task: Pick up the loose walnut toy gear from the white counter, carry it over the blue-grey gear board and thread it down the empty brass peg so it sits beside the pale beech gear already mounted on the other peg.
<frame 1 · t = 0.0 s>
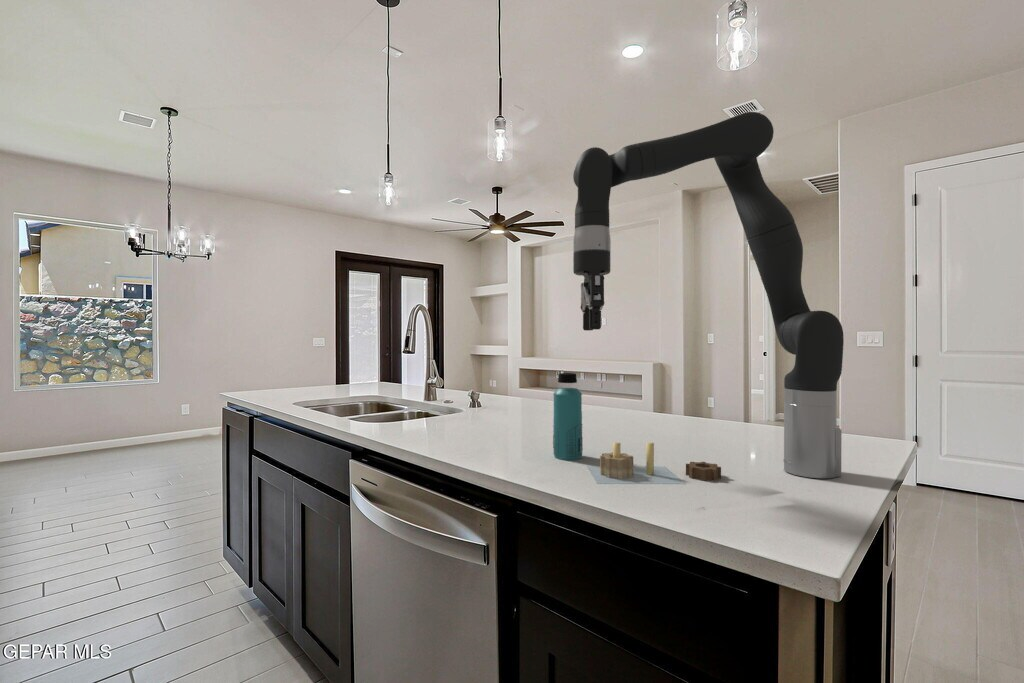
hand: (591, 329, 100), 29 cm above the counter, fingers open, 8 cm apart
beech gear: (616, 465, 93), point 3 cm above the counter, hinge at 0.0°, touching gear board
beverage bottle: (567, 464, 107), on the counter
walnut gear: (703, 484, 92), on the counter
gear board: (633, 482, 93), on the counter
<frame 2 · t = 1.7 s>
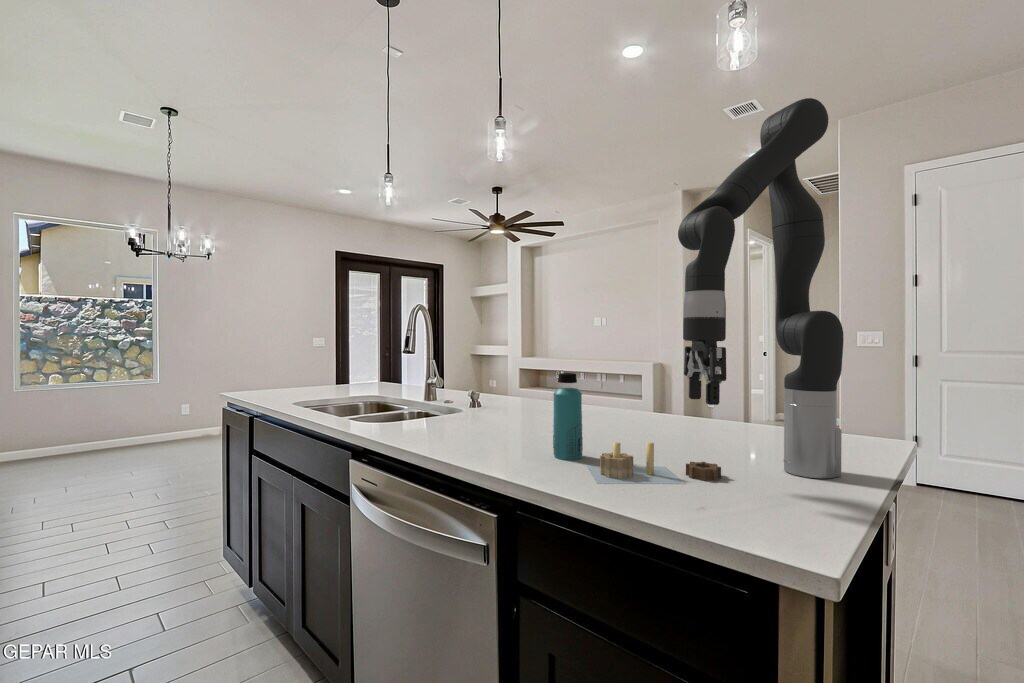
hand: (703, 401, 92), 16 cm above the counter, fingers open, 8 cm apart
nothing on the counter moved.
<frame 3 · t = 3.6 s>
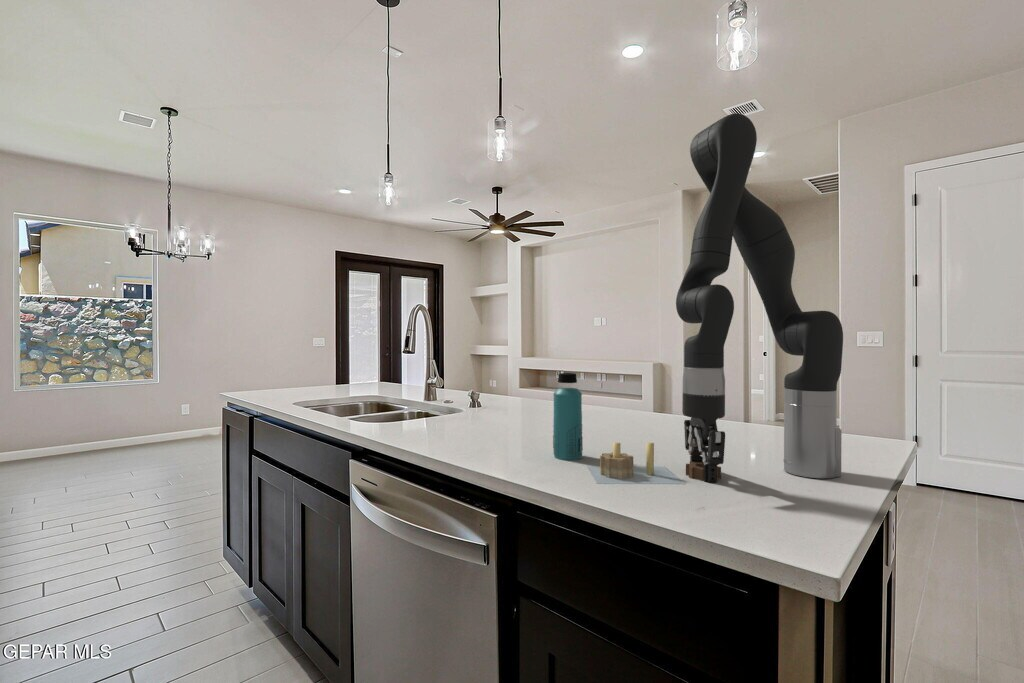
hand: (702, 479, 92), 1 cm above the counter, fingers closed on walnut gear, 6 cm apart
walnut gear: (703, 484, 92), on the counter, touching gripper
everything else where it was.
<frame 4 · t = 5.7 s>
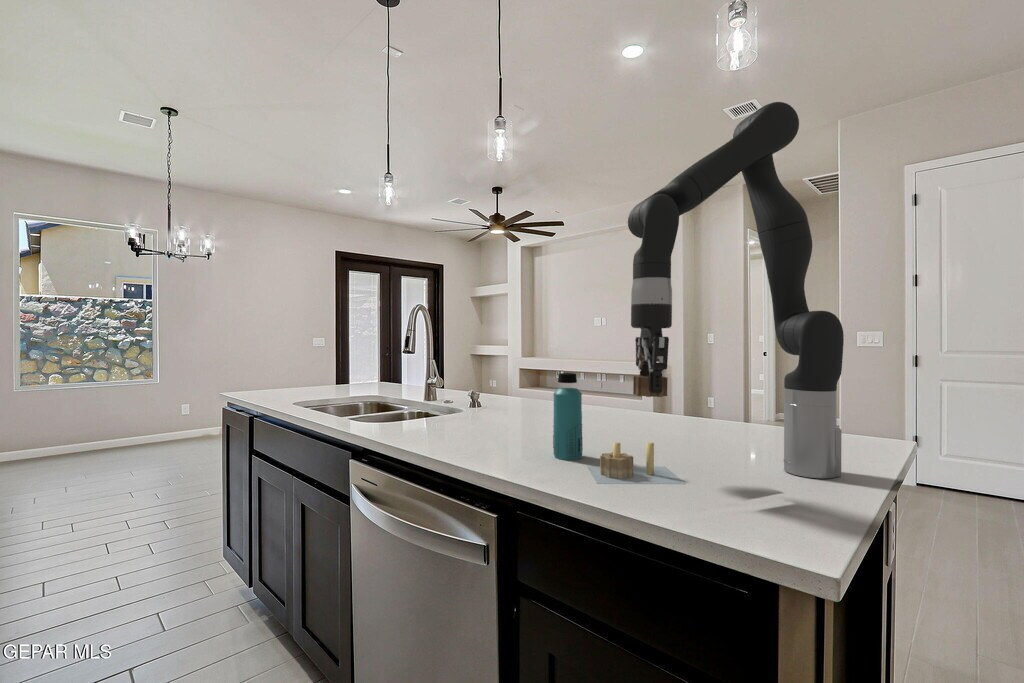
hand: (650, 390, 93), 18 cm above the counter, fingers closed on walnut gear, 6 cm apart
walnut gear: (650, 395, 93), point 17 cm above the counter, touching gripper
everything else where it was.
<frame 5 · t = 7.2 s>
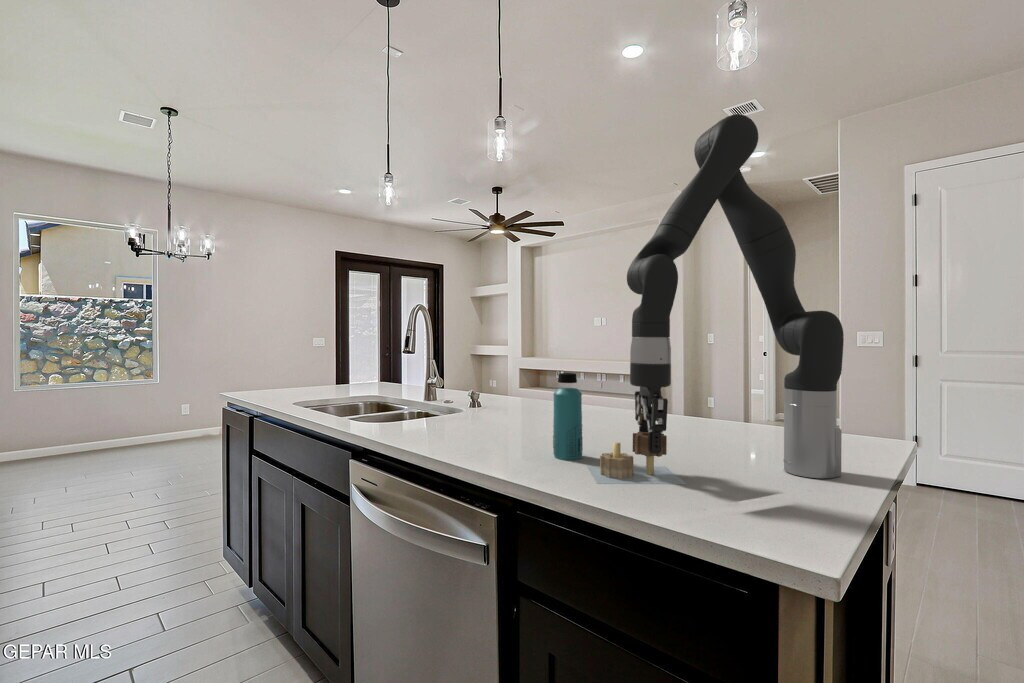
hand: (649, 448, 93), 6 cm above the counter, fingers closed on walnut gear, 6 cm apart
walnut gear: (649, 452, 93), point 6 cm above the counter, touching gripper
everything else where it was.
when the fingers open (4 cm above the counter, at t = 8.2 s): walnut gear drops 2 cm, resting on gear board.
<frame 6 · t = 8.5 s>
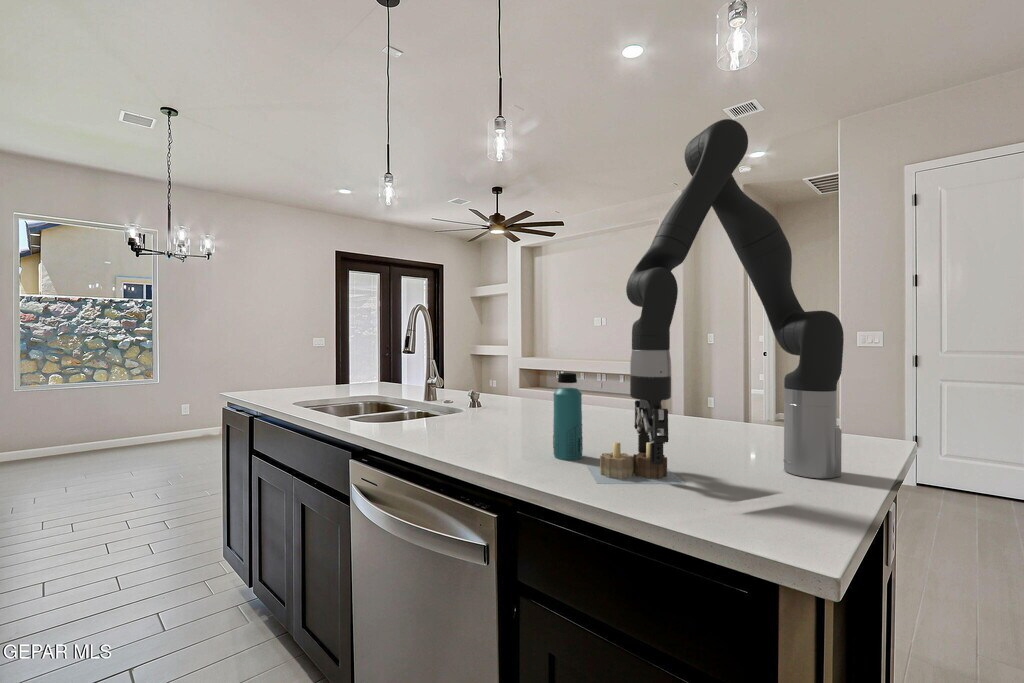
hand: (650, 458, 93), 5 cm above the counter, fingers open, 8 cm apart
walnut gear: (650, 474, 93), point 1 cm above the counter, touching gear board
everything else where it was.
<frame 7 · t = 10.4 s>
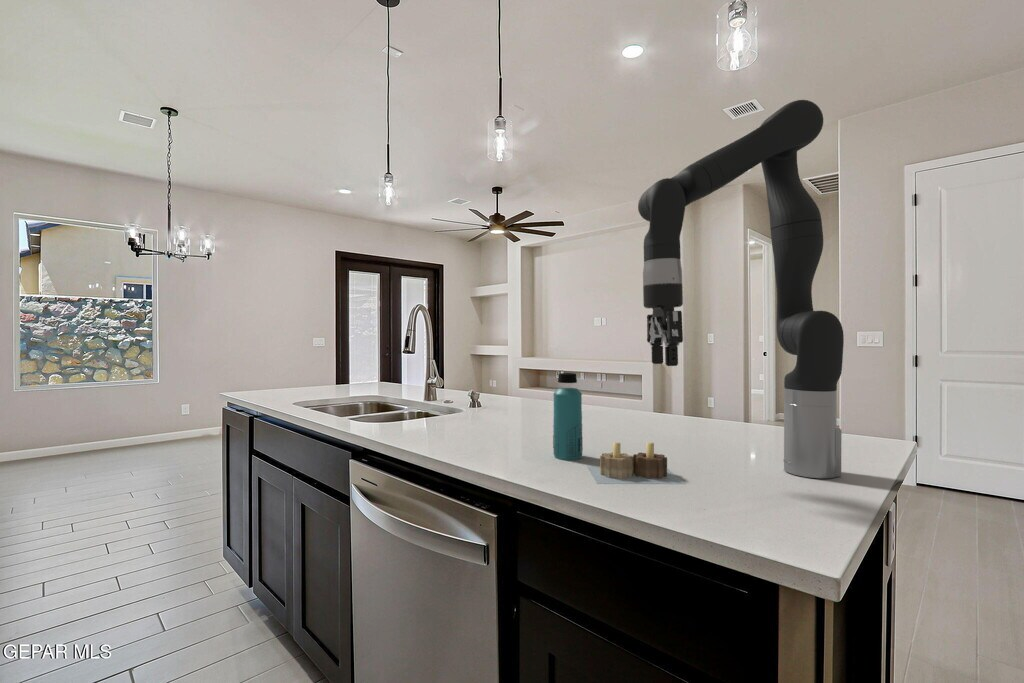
hand: (664, 364, 97), 22 cm above the counter, fingers open, 8 cm apart
nothing on the counter moved.
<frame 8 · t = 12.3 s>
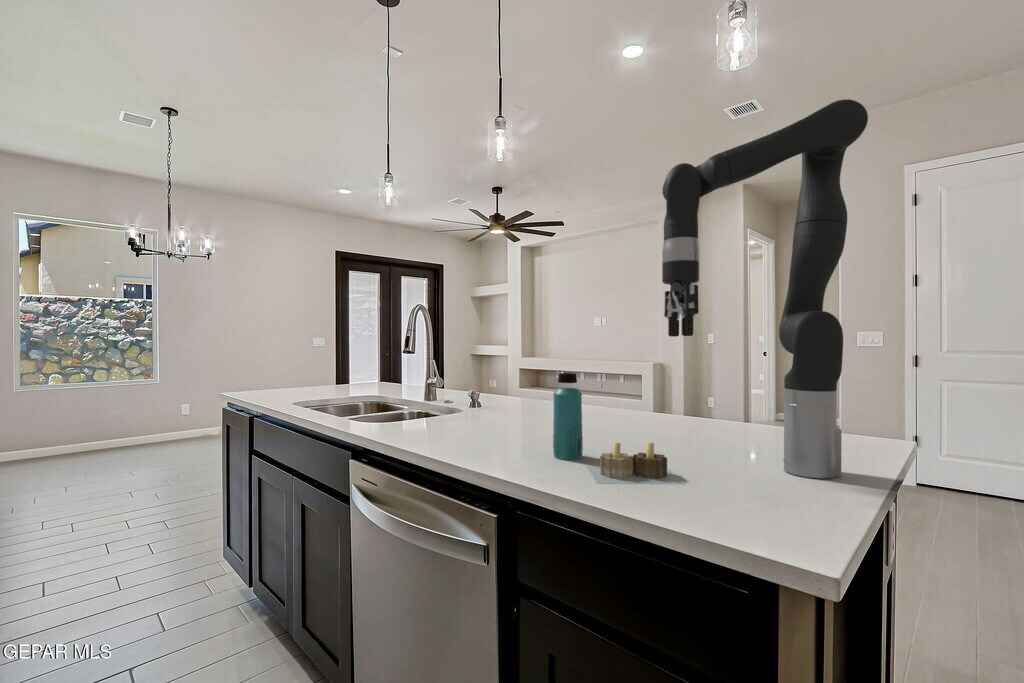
hand: (680, 336, 105), 28 cm above the counter, fingers open, 8 cm apart
nothing on the counter moved.
at the end: walnut gear 0.1 cm from the target spot, point 1.5 cm above the counter; walnut gear tilted 0°; the gripper is holding nothing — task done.
